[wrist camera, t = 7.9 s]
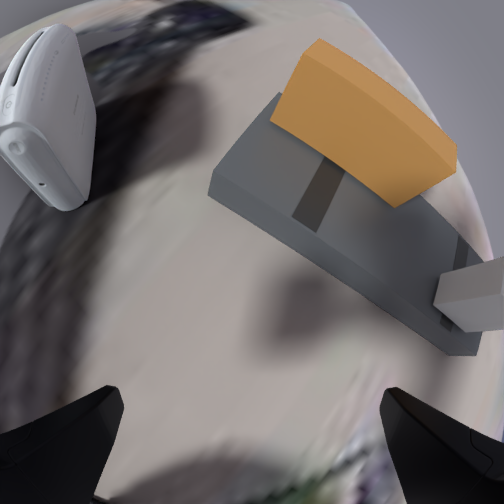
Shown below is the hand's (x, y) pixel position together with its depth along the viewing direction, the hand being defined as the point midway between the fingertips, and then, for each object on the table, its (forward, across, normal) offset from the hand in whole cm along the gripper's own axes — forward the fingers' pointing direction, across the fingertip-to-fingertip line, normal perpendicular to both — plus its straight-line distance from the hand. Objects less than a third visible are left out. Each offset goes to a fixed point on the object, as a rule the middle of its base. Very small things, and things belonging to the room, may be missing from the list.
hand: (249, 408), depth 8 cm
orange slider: (+16, -7, -10) cm, 20 cm away
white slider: (+13, -18, +3) cm, 22 cm away
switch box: (+18, -11, -2) cm, 21 cm away
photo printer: (+14, +16, -10) cm, 23 cm away
